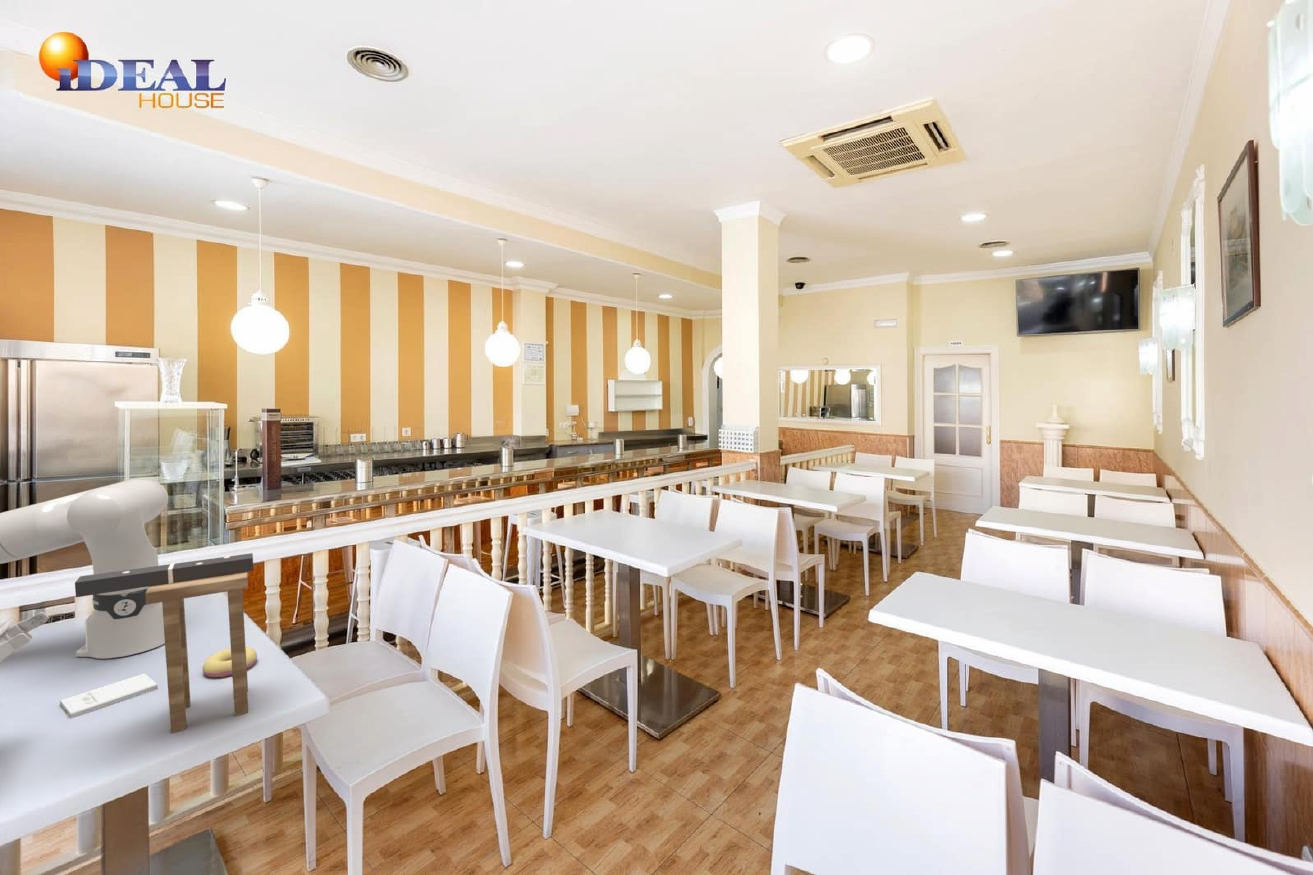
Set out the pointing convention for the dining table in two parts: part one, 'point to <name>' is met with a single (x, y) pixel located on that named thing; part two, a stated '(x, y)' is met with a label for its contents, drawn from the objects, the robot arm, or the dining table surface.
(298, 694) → the dining table surface
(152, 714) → the dining table surface
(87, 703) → the external hard drive
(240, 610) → the stool
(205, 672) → the donut
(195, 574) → the domino
